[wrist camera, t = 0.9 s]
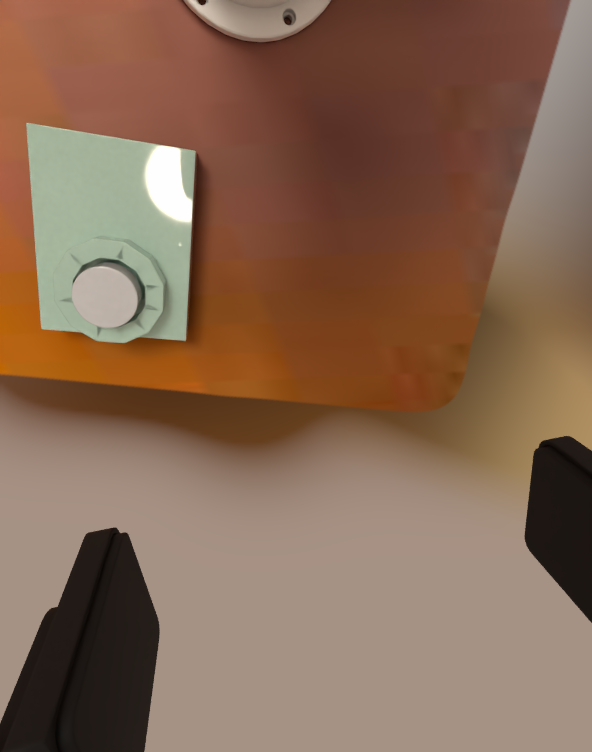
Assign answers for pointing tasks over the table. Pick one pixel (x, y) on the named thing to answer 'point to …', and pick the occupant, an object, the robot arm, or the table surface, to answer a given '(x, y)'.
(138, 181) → the green push button box
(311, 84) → the table surface
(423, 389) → the table surface
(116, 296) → the grey push button
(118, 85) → the table surface
